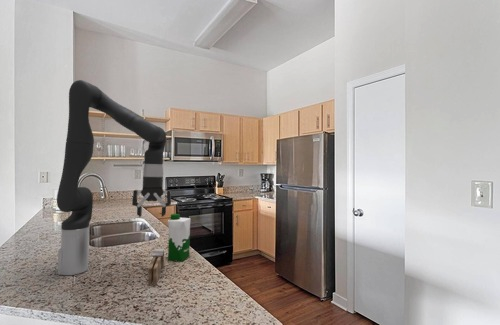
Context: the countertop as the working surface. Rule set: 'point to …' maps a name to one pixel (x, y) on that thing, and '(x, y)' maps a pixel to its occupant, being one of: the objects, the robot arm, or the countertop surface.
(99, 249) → the countertop surface
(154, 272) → the tong arm
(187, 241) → the milk carton
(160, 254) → the tong frame
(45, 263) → the countertop surface
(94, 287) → the countertop surface
